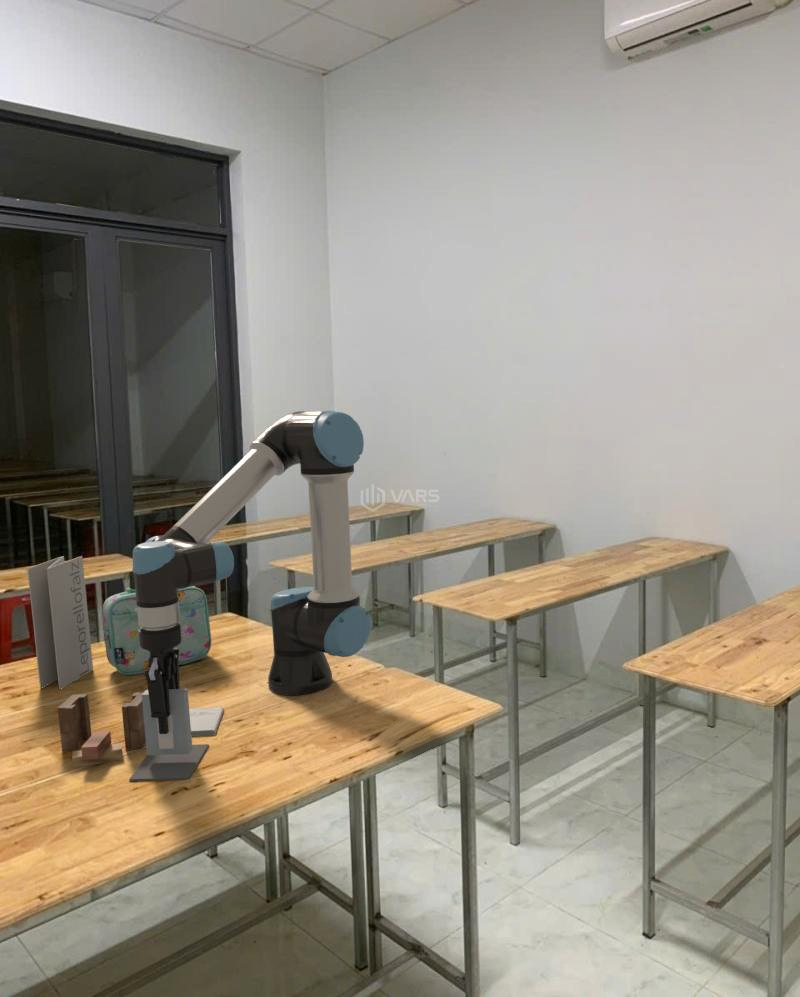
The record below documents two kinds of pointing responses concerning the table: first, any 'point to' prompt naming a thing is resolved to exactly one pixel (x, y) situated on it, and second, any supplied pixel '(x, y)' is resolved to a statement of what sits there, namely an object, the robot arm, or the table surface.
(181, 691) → the grey upright panel
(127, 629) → the lunch box
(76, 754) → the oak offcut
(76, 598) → the brochure
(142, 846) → the table surface
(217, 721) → the external hard drive
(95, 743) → the mahogany offcut
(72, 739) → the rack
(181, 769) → the mat
